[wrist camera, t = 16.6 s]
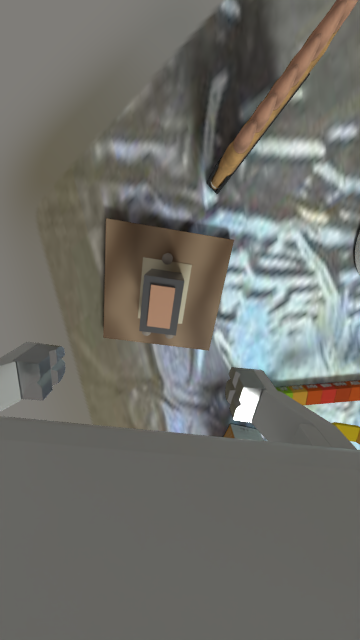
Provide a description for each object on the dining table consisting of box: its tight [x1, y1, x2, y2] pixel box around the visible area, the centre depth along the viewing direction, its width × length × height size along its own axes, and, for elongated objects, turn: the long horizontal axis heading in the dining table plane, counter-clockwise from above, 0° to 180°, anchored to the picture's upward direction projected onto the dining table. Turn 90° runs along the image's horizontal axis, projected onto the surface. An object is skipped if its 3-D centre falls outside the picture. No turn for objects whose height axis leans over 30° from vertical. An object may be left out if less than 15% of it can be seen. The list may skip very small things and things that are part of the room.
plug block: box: [139, 269, 184, 336], centre depth 23 cm, size 4×6×7 cm, turn 171°
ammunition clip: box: [207, 0, 358, 194], centre depth 17 cm, size 11×2×12 cm, turn 140°
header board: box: [103, 218, 234, 350], centre depth 26 cm, size 16×16×5 cm
